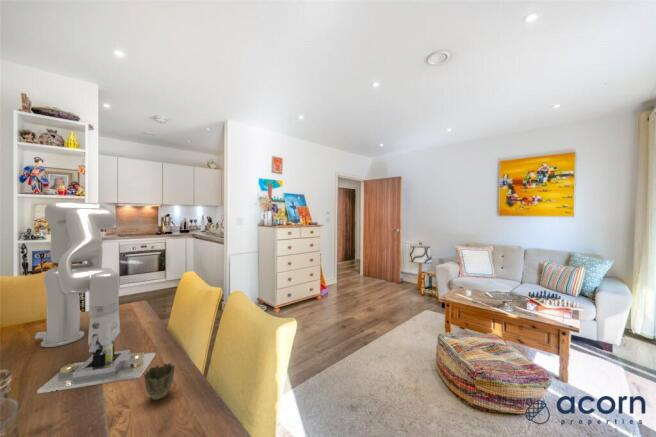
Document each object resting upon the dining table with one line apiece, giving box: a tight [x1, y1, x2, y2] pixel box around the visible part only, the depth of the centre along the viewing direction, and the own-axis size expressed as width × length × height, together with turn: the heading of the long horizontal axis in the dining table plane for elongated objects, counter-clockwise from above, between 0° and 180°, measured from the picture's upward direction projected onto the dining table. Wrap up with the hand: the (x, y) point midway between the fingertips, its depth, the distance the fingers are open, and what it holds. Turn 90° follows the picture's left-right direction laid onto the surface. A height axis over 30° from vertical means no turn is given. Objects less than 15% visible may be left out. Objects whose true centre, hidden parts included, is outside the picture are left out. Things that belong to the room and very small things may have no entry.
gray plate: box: [36, 349, 156, 395], centre depth 85 cm, size 26×14×4 cm, turn 108°
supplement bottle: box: [97, 341, 114, 365], centre depth 85 cm, size 5×5×8 cm
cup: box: [143, 362, 175, 401], centre depth 73 cm, size 8×7×8 cm
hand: (103, 360), depth 85 cm, fingers closed on supplement bottle, 4 cm apart
